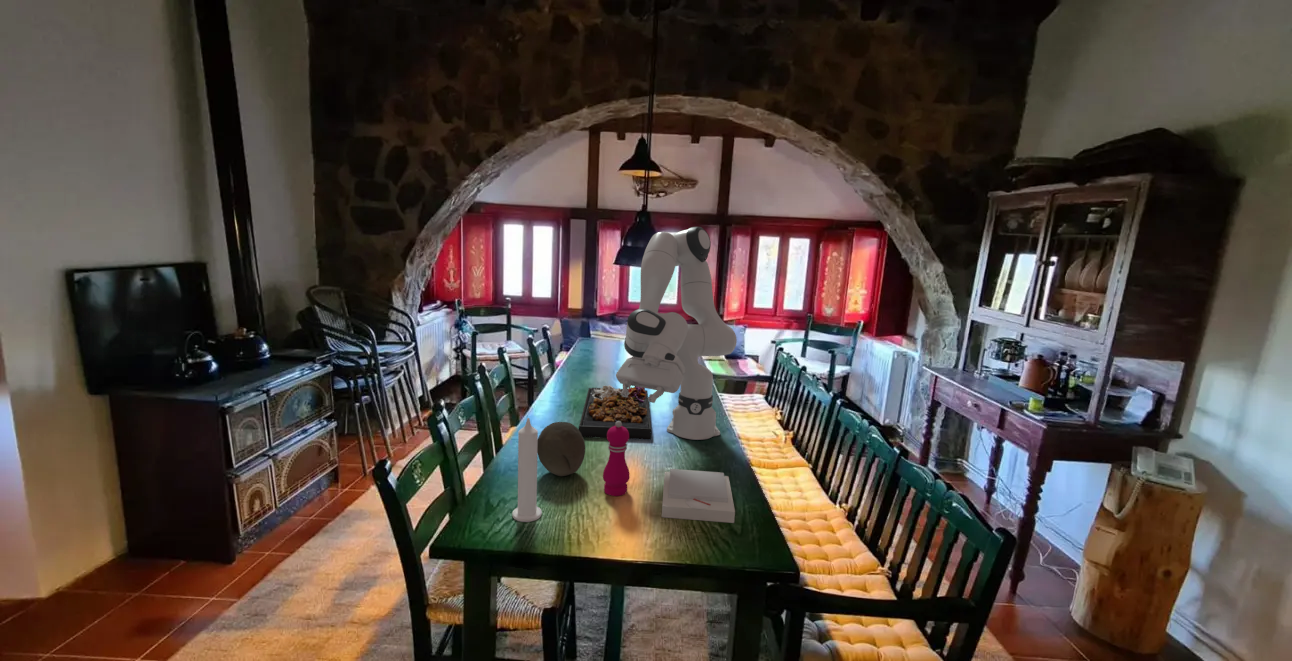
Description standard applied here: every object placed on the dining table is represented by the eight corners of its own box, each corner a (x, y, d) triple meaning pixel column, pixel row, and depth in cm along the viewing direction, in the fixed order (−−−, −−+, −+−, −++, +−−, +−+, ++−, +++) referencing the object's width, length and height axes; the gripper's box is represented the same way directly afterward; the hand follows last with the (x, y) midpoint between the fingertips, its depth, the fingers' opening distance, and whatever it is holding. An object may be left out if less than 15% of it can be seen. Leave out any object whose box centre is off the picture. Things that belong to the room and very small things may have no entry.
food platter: (588, 398, 232) (589, 374, 231) (647, 400, 233) (648, 376, 231) (578, 438, 188) (579, 409, 186) (650, 441, 189) (652, 412, 187)
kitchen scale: (664, 481, 158) (665, 467, 158) (727, 486, 157) (728, 472, 157) (661, 517, 139) (662, 502, 138) (734, 523, 138) (735, 507, 137)
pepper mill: (614, 482, 156) (617, 414, 153) (634, 490, 152) (637, 421, 148) (596, 490, 151) (599, 420, 147) (616, 500, 146) (619, 427, 143)
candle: (512, 523, 132) (513, 423, 128) (511, 508, 139) (512, 413, 134) (542, 520, 134) (544, 422, 130) (540, 506, 141) (542, 412, 136)
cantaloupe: (592, 467, 165) (593, 419, 162) (573, 488, 152) (574, 436, 149) (548, 460, 169) (549, 412, 166) (526, 479, 155) (526, 428, 152)
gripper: (624, 349, 167) (603, 386, 160) (683, 357, 155) (662, 398, 148) (633, 362, 171) (612, 399, 164) (690, 371, 159) (671, 411, 153)
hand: (636, 398), depth 156 cm, fingers open, 8 cm apart
